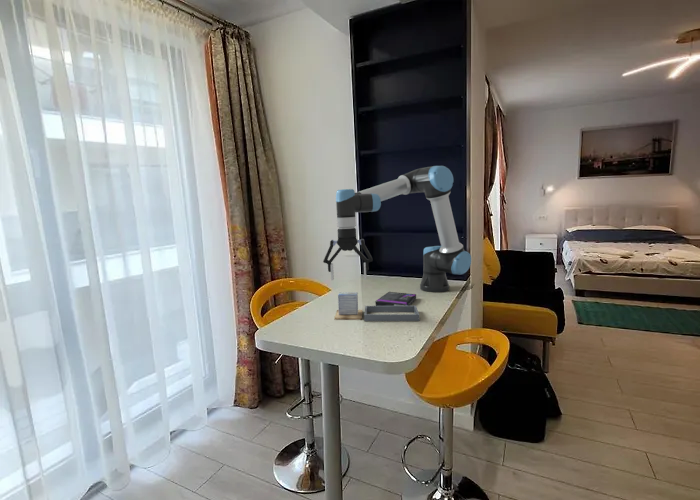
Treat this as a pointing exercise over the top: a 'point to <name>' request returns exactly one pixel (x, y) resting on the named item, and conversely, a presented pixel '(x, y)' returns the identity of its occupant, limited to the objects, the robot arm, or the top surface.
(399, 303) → the box
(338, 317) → the pad
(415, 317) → the bin
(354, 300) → the medicine box
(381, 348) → the top surface
